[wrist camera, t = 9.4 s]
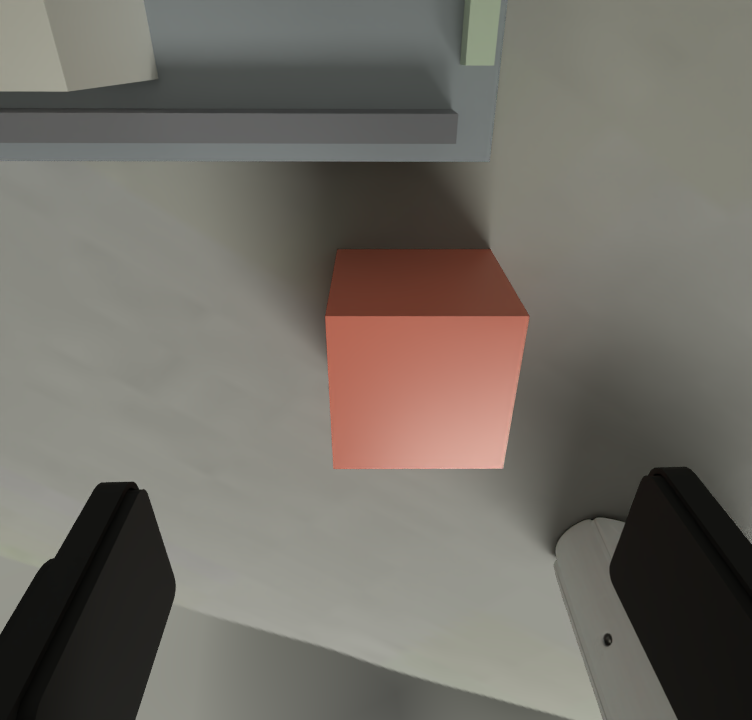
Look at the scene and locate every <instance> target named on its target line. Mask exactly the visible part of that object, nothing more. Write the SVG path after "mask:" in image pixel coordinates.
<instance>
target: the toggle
mask: <svg viewBox="0 0 752 720" xmlns="http://www.w3.org/2000/svg"><path fill="white" fill-rule="evenodd" d="M155 79H158V74H157V68H156V63H155V58H154V53H153V47H152V42H151V37H150V32H149V26H148V21H147V16H146V10H145V5H144V0H0V91H45V92H69V91H76V90H83V89H90V88H97V87H105V86H112V85H119V84H126V83H133V82H140V81H147V80H155Z"/></svg>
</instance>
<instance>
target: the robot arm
mask: <svg viewBox="0 0 752 720" xmlns="http://www.w3.org/2000/svg"><path fill="white" fill-rule="evenodd" d="M609 574H610V579H611V582H612V585H613V587H614V589H615V591H616V593H617V595H618V597H619V599H620V601H621V603H622V606H623V608H624V610H625V612H626V614H627V616H628V618H629V620H630V622H631V624H632V626H633V628H634V630H635V632H636V635H637V637H638V639H639V641H640V643H641V645H642V647H643V649H644V651H645V653H646V655H647V657H648V659H649V661H650V664H651V666H652V668H653V670H654V672H655V674H656V676H657V678H658V680H659V682H660V684H661V686H662V688H663V690H664V693H665V695H666V697H667V699H668V701H669V703H670V705H671V707H672V709H673V711H674V713H675V715H676V717H677V719H678V720H752V544H751V543H750V542H749V541H748V539H747V538H746V537H745V536H744V534H743V533H742V532H741V531H740V529H739V528H738V527H737V526H736V524H735V523H734V522H733V521H732V519H731V518H730V517H729V516H728V514H727V513H726V512H725V511H724V509H723V508H722V507H721V506H720V504H719V503H718V502H717V501H716V499H715V498H714V497H713V496H712V494H711V493H710V492H709V491H708V489H707V488H706V487H705V486H704V484H703V483H702V482H701V481H700V479H699V478H698V477H697V476H696V474H695V473H694V472H693V471H692V470H691V469H689V468H687V467H666V468H654V469H652V470H651V471H650V473H649V475H648V476H644V477H643V478H642V480H641V482H640V485H639V487H638V490H637V493H636V495H635V498H634V501H633V503H632V506H631V509H630V511H629V514H628V517H627V520H626V522H625V525H624V528H623V530H622V533H621V536H620V538H619V541H618V544H617V546H616V549H615V552H614V554H613V557H612V560H611V562H610V566H609ZM175 588H176V584H175V578H174V574H173V571H172V568H171V565H170V562H169V559H168V556H167V553H166V549H165V546H164V543H163V540H162V537H161V534H160V531H159V528H158V524H157V521H156V518H155V515H154V512H153V509H152V506H151V503H150V499H149V496H148V493H147V491H146V490H144V489H143V490H139V488H138V486H137V484H136V483H135V482H106V483H100V484H98V485H97V486H96V488H95V489H94V490H93V492H92V494H91V496H90V497H89V499H88V501H87V503H86V504H85V506H84V508H83V510H82V511H81V513H80V515H79V516H78V518H77V520H76V522H75V523H74V525H73V527H72V529H71V530H70V532H69V534H68V535H67V537H66V539H65V541H64V542H63V544H62V546H61V548H60V549H59V551H58V553H57V555H56V556H55V558H53V559H50V560H48V561H47V562H46V563H45V564H43V566H42V567H41V568H40V570H39V571H38V572H37V574H36V575H35V577H34V579H33V581H32V582H31V584H30V586H29V587H28V589H27V591H26V592H25V594H24V596H23V597H22V599H21V601H20V602H19V604H18V606H17V607H16V609H15V611H14V612H13V614H12V616H11V617H10V619H9V621H8V622H7V624H6V626H5V627H4V629H3V631H2V633H1V634H0V720H135V719H136V716H137V712H138V709H139V706H140V703H141V700H142V697H143V694H144V691H145V688H146V684H147V681H148V678H149V675H150V672H151V669H152V665H153V663H154V660H155V656H156V653H157V650H158V647H159V644H160V641H161V638H162V635H163V632H164V628H165V625H166V622H167V619H168V616H169V613H170V610H171V607H172V603H173V600H174V596H175Z"/></svg>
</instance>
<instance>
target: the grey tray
mask: <svg viewBox="0 0 752 720" xmlns="http://www.w3.org/2000/svg"><path fill="white" fill-rule="evenodd" d="M507 1H508V0H144V5H145V10H146V16H147V21H148V26H149V32H150V37H151V42H152V47H153V53H154V58H155V63H156V68H157V74H158V79H155V80H147V81H140V82H133V83H126V84H119V85H112V86H105V87H97V88H90V89H83V90H76V91H69V92H45V91H0V161H347V162H490V154H491V145H492V136H493V127H494V118H495V109H496V100H497V91H498V82H499V73H500V64H501V55H502V46H503V37H504V28H505V19H506V10H507Z"/></svg>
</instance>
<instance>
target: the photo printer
mask: <svg viewBox="0 0 752 720" xmlns="http://www.w3.org/2000/svg"><path fill="white" fill-rule="evenodd" d="M624 525H625V522H621V521H617V520H613V519H608V518H600V517H598V518H596V519H594V520H589V519H587V520H584V521H581V522H579V523H577V524H576V525H574V526H573V527H571V528H569V529H568V530H567V531H566V532H565V533H564V534H563V535H562V536H561V538H560V539H559V541H558V543H557V545H556V552H555V553H556V557H557V560H556V561H555V562H554V570H555V575H556V578H557V582H558V585H559V588H560V591H561V594H562V598H563V601H564V604H565V607H566V610H567V613H568V616H569V619H570V622H571V625H572V628H573V631H574V634H575V637H576V640H577V643H578V646H579V649H580V652H581V655H582V657H583V661H584V664H585V667H586V670H587V673H588V676H589V679H590V682H591V685H592V688H593V691H594V694H595V697H596V700H597V703H598V706H599V709H600V712H601V715H602V718H603V720H678V719H677V717H676V715H675V713H674V711H673V709H672V707H671V705H670V703H669V701H668V699H667V697H666V695H665V693H664V690H663V688H662V686H661V684H660V682H659V680H658V678H657V676H656V674H655V672H654V670H653V668H652V666H651V664H650V661H649V659H648V657H647V655H646V653H645V651H644V649H643V647H642V645H641V643H640V641H639V639H638V637H637V635H636V632H635V630H634V628H633V626H632V624H631V622H630V620H629V618H628V616H627V614H626V612H625V610H624V608H623V606H622V603H621V601H620V599H619V597H618V595H617V593H616V591H615V589H614V587H613V585H612V582H611V579H610V574H609V566H610V562H611V560H612V557H613V554H614V552H615V549H616V546H617V544H618V541H619V538H620V536H621V533H622V530H623V528H624Z"/></svg>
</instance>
